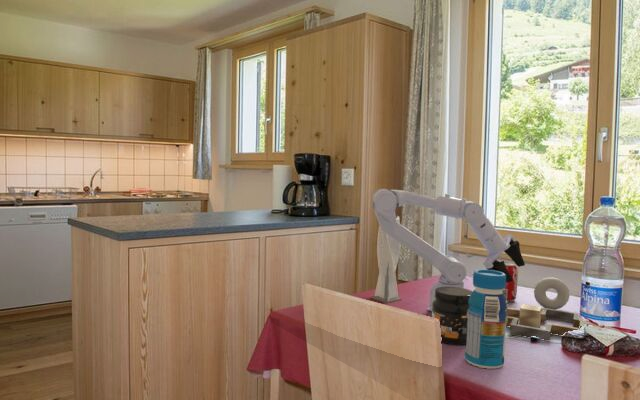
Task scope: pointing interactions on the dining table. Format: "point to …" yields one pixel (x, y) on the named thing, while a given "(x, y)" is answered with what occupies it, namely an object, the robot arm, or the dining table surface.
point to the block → (530, 316)
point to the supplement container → (452, 313)
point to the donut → (555, 284)
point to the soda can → (511, 287)
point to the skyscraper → (387, 267)
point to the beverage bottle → (487, 320)
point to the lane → (545, 313)
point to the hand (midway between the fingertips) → (516, 273)
